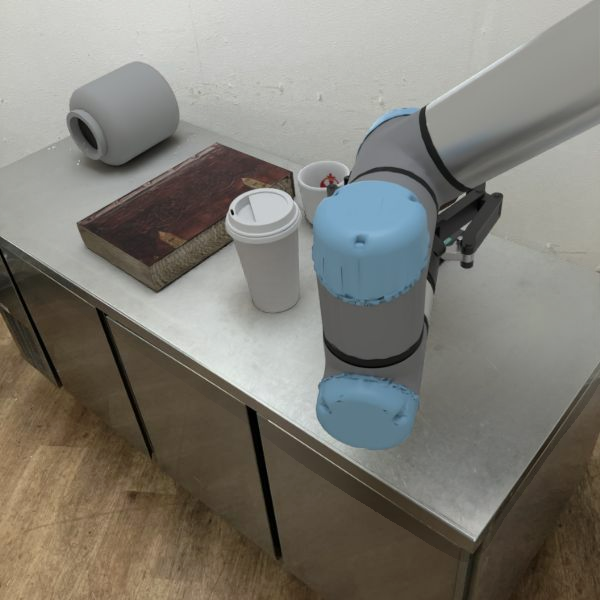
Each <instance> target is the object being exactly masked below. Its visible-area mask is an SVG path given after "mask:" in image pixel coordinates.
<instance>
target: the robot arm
mask: <svg viewBox="0 0 600 600" xmlns="http://www.w3.org/2000/svg"><path fill="white" fill-rule="evenodd" d="M598 125H600V0H591V1H589V2H587V3H586V4H584V5H582V6H581V7H579V8H578V9H576V10H574V11H573V12H572V13H570V14H568V15H567V16H566V17H564V18H562V19H561V20H559V21H558V22H556V23H554V24H553V25H551V26H549V27H548V28H545V30H543V31H541V32H540V33H538V34H537V35H535V36H534V37H532V38H531V39H529V40H527V41H526V42H524V43H523V44H521V45H520V46H518V47H517V48H515V49H513V50H512V51H510V52H508V53H507V54H505V55H504V56H502V57H501V58H499V59H498V60H495V61H494V62H493V63H491V64H490V65H488V66H487V67H485V68H483V69H481V70H480V71H479V72H477V73H476V74H473V75H472V76H471V77H469V78H467V79H466V80H464V81H463V82H461V83H460V84H458V85H457V86H455V87H453V88H451V89H450V90H449V91H447V92H445V93H444V94H442V95H441V96H439V97H438V98H436V99H434V100H433V101H431V102H429V103H427V104H426V105H424V106H422V107H421V108H419V107H413V106H411V107H410V106H409V107H400V108H394V109H391V110H389V111H387V112H385V113H384V114H382V115H381V116H379V117H378V118H376V120H375V121H374V122H373V123H372V124H371V126H370V128H369V129H368V131H367V133H366V134H365V136H364V138H363V139H362V141H361V142H360V143H359V146H358V148H357V152H356V156H355V161H354V163H353V167H352V170H350V174H349V175H348V176H345V177H344V186H341V187H338V186H337V185H336V184H329V185H327V198H324V199H323V201H322V202H321V203H320V204H319V206H318V207H317V209H316V212H315V214H314V219H313V224H312V239H313V242H312V243H313V244H312V246H311V260H312V262H313V269H314V272H315V276H316V283H317V293H318V300H319V301H318V302H319V308H320V317H321V325H322V343H323V351H324V360H325V361H324V371H323V375H322V378H321V379H320V381H319V382H318V384H317V388H318V394H317V398H316V404H315V414H316V419H317V421H318V424H320V426H321V427H322V429H323V430H324V431H325V432H326V433H327V434H328V435H329V436H331V438H333V439H334V440H336V441H338V442H340V443H342V444H344V445H346V446H349V447H352V448H354V449H355V448H356V449H364V450H368V451H382V450H383V451H384V450H389V449H391V448H395V447H397V446H399V445H401V444H403V442H405V441H406V440H407V439H408V438H409V437H410V435H411V433H412V431H413V429H414V425H415V419H416V415H417V410H418V409H419V408H420V404H421V403H420V393H421V385H422V379H423V371H424V365H425V358H426V357H425V356H426V347H427V340H428V337H429V330H430V324H431V318H432V313H433V306H434V299H435V297H434V296H435V293H436V286H437V281H438V273H439V268H440V266H442V264H444V263H445V261H451V262H452V261H453V262H459V265H460V267H461V268H462V269H465V270H470V269H472V268H473V267H474V262H475V254H476V252H477V251H478V249H479V248H480V247H481V245H482V244H483V242H484V241H485V239H486V238H487V237H488V235H489V234H490V232H491V231H492V229H494V227H495V225H496V224H497V222H498V221H499V220H500V218H501V215H502V210H503V202H504V194H503V193H501V192H498V191H496V192H492V193H491V194H490V193H488V192H487V191H486V187H487V182H488V181H490V180H493V179H494V178H496V177H498V176H500V175H502V174H504V173H506V172H508V171H510V170H512V169H514V168H516V167H518V166H520V165H521V164H523V163H526V162H528V161H529V160H532V159H533V158H535V157H538V156H540V155H541V154H544V153H545V152H547V151H550V150H551V149H553V148H555V147H558V146H559V145H561V144H563V143H565V142H567V141H569V140H571V139H573V138H575V137H576V136H579V135H581V134H583V133H585V132H587V131H589V130H590V129H592V128H595V127H597V126H598ZM463 194H465V195H463ZM462 195H463V196H462ZM461 196H462V197H461ZM457 197H458V198H460V197H461V198H460V199H457V200H456V202H455V203H453V204H452V205H450V206H448V207H447V208H445V209H443V210H442V211H440V212H439V208H440V207H441V206H442V205H443V204H445V203H447V202H449V201H451V200H453V199H455V198H457ZM467 224H468V225H467ZM466 225H467V226H466ZM465 226H466V228H465V229H464V233H463V237H462V236H459V237H457V241H455V242H454V243H453V244H452V245H451V246H446V245H445V243H444V241H445V240H446V239H447V238H449V237H450V236H451V235H453V234H454V233H455V232H457V231H458V230H459V229H462V228H463V227H465Z"/></svg>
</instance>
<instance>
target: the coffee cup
mask: <svg viewBox="0 0 600 600" xmlns="http://www.w3.org/2000/svg"><path fill="white" fill-rule="evenodd" d="M302 218H303V216H302V212H301V209H300V207H299V206H298V203H296V201H295V200H293V198H291V196H290V195H289V194H287V193H286V192H284V191H281V190H278V189H273V188H261V189H255V190H251V191H248V192H246V193H243V194H242V195H240V196H238V197H237V198H236V199H235V200H234V201H233V202H232V203H231V205H230V207H229V211H228V213H227V216H226V221H225V228H226V231H227V232H228V234H229V235H230V236H231V237H232V238H233V240H232V241H233V243H234V247H235V250H236V253H237V255H238V258H239V259H238V260H239V262H240V265H241V269H242V272H243V274H244V278H245V280H246V281H245V282H246V284H247V287H248V291H249V293H250V296H251V300H252V302H253V305H254V306H255V308H257V309H258V310H260V311H262V312H265V313H271V314H276V313H282V312H286V311H288V310H289V309H291V308H293V307H294V306H295V305H296V304H297V303H298V302H299V300H300V294H301V293H300V290H301V288H300V251H299V250H300V248H299V247H300V246H299V242H300V241H299V226H300V225H301V223H302Z"/></svg>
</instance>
